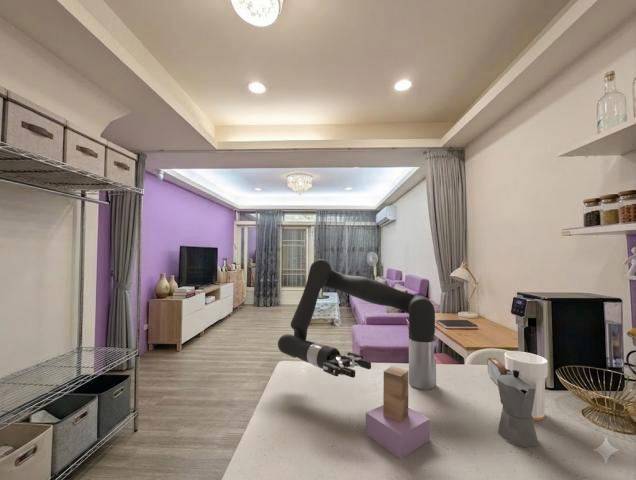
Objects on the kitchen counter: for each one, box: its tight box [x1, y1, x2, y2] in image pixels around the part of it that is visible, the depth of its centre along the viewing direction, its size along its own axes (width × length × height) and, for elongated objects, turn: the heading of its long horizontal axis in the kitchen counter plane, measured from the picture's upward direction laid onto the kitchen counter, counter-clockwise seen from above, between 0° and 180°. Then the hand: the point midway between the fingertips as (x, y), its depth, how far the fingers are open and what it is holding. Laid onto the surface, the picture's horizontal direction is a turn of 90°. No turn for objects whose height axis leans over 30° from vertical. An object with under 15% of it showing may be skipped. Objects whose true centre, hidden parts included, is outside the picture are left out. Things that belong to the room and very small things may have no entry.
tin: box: [486, 357, 507, 386], centre depth 113 cm, size 15×3×8 cm, turn 168°
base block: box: [365, 404, 431, 459], centre depth 80 cm, size 12×12×6 cm
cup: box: [504, 350, 549, 422], centre depth 93 cm, size 11×11×17 cm
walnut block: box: [382, 365, 409, 423], centre depth 80 cm, size 5×5×12 cm
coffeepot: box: [497, 369, 538, 448], centre depth 81 cm, size 15×9×18 cm, turn 162°
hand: (362, 369), depth 89 cm, fingers open, 8 cm apart
